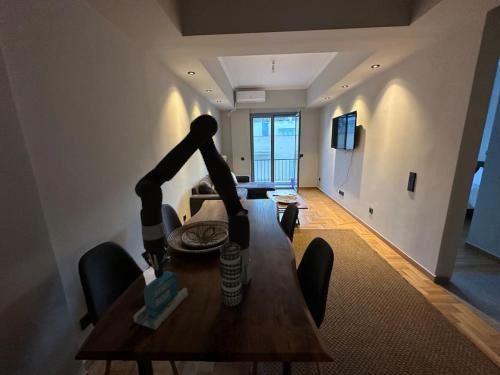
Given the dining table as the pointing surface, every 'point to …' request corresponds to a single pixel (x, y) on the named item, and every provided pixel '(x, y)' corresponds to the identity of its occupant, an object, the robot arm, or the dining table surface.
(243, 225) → the robot arm
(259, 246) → the dining table surface
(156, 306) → the data package
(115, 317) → the dining table surface
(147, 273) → the beverage cup
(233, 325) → the dining table surface
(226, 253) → the leaning tower model
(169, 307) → the grey tray
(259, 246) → the dining table surface
